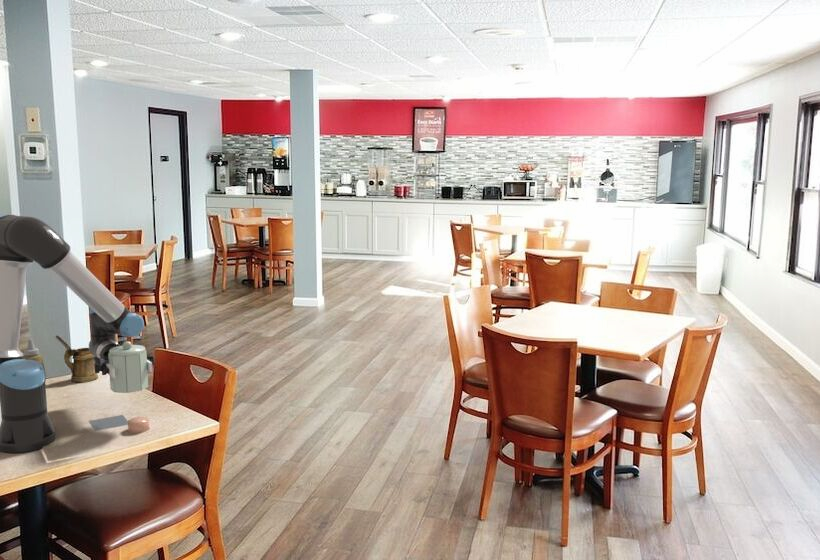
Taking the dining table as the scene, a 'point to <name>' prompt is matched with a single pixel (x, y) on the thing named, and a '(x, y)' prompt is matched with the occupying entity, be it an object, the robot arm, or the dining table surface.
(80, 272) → the robot arm
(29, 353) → the squeeze bottle
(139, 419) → the light brown short cylinder
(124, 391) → the lidded canister jar
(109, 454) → the dining table surface
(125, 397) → the dining table surface
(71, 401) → the dining table surface
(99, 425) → the mat
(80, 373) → the wooden mug
